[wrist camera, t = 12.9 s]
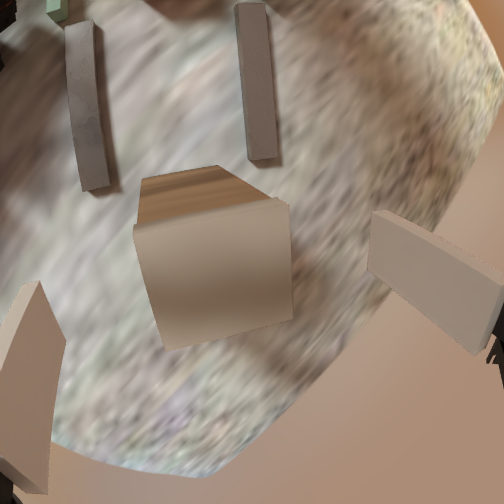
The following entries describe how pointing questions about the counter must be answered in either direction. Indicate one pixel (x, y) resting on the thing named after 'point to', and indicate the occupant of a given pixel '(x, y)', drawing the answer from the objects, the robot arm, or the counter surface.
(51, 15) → the green u-shaped frame
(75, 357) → the counter surface
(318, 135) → the counter surface
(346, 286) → the counter surface
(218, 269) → the light brown tall block
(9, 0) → the tool
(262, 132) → the slot rails
